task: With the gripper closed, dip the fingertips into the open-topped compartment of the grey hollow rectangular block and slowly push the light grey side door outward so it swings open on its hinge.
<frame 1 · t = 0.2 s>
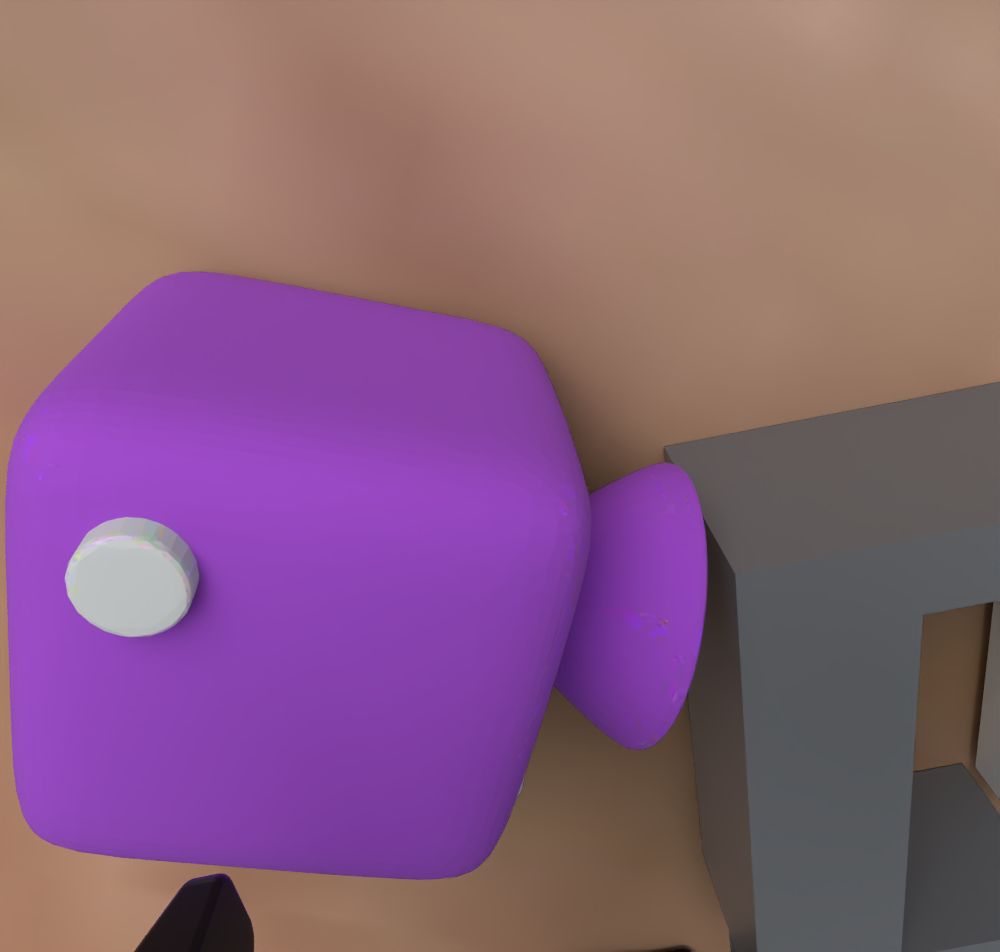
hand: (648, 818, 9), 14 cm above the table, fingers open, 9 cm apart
grey hollow rectangular block: (831, 650, 27), on the table
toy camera: (394, 458, 23), on the table
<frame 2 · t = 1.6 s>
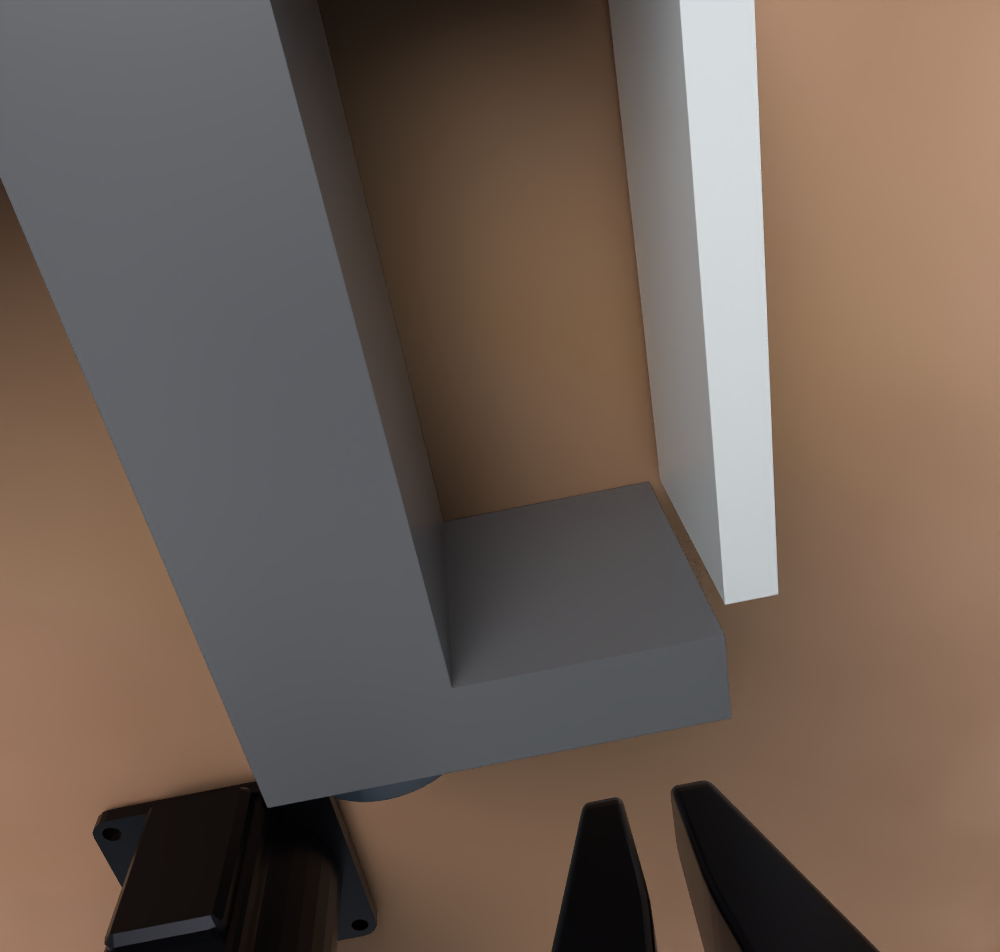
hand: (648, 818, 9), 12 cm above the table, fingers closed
grey hollow rectangular block: (408, 274, 19), on the table
side door: (691, 264, 16), point 3 cm above the table, hinge at 0.0°
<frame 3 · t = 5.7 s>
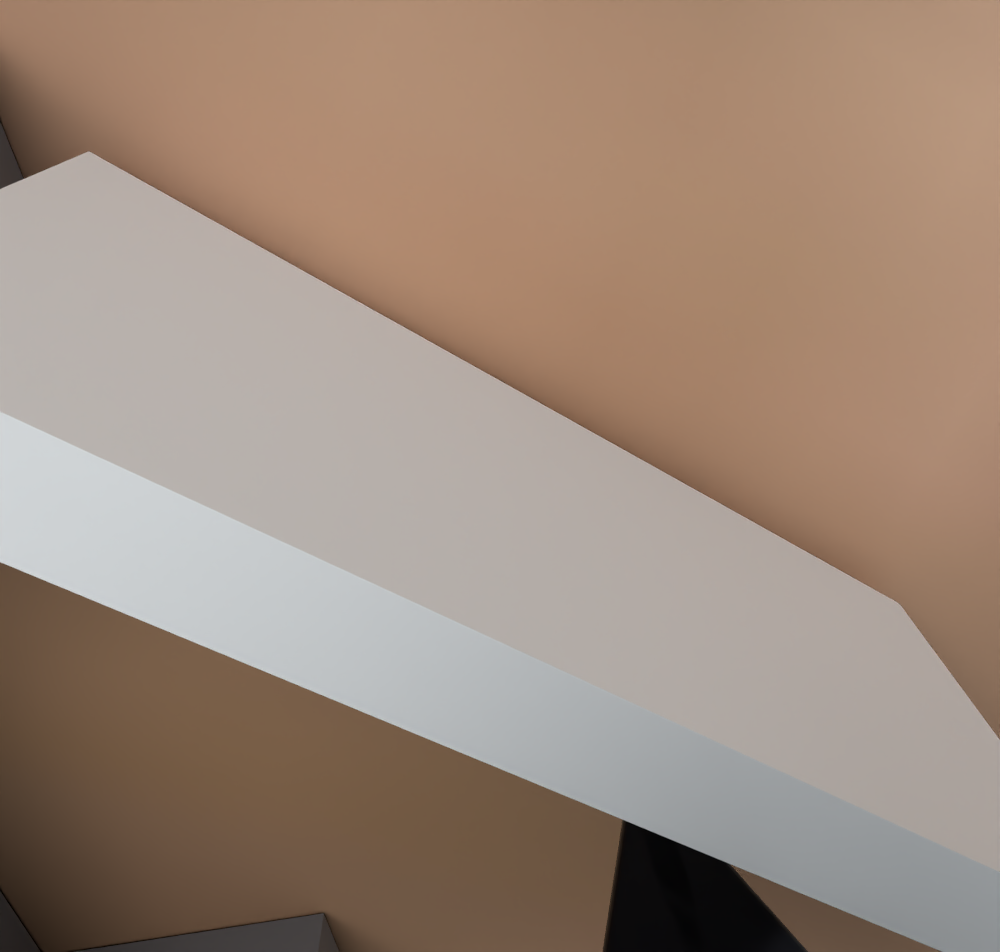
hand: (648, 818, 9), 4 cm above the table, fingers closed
side door: (552, 556, 9), point 3 cm above the table, hinge at 48.8°, touching gripper
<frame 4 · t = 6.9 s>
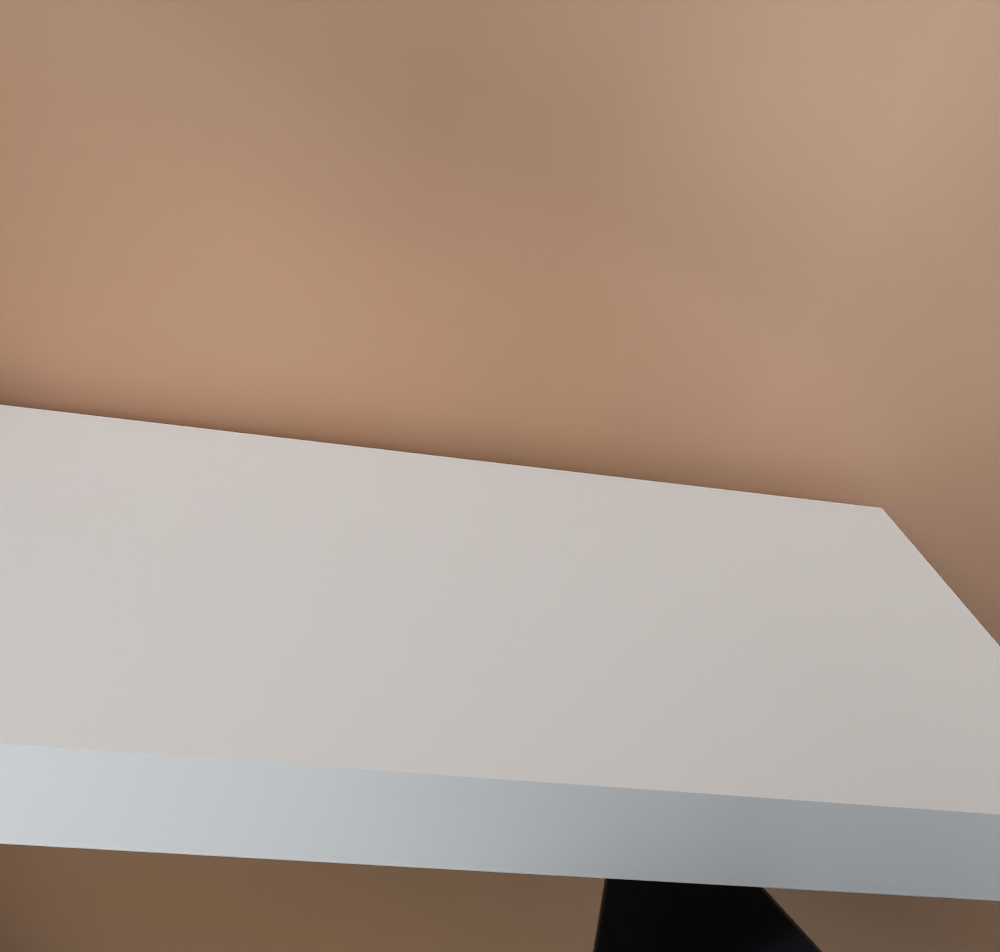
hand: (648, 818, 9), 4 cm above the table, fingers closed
side door: (437, 616, 9), point 3 cm above the table, hinge at 70.8°, touching gripper
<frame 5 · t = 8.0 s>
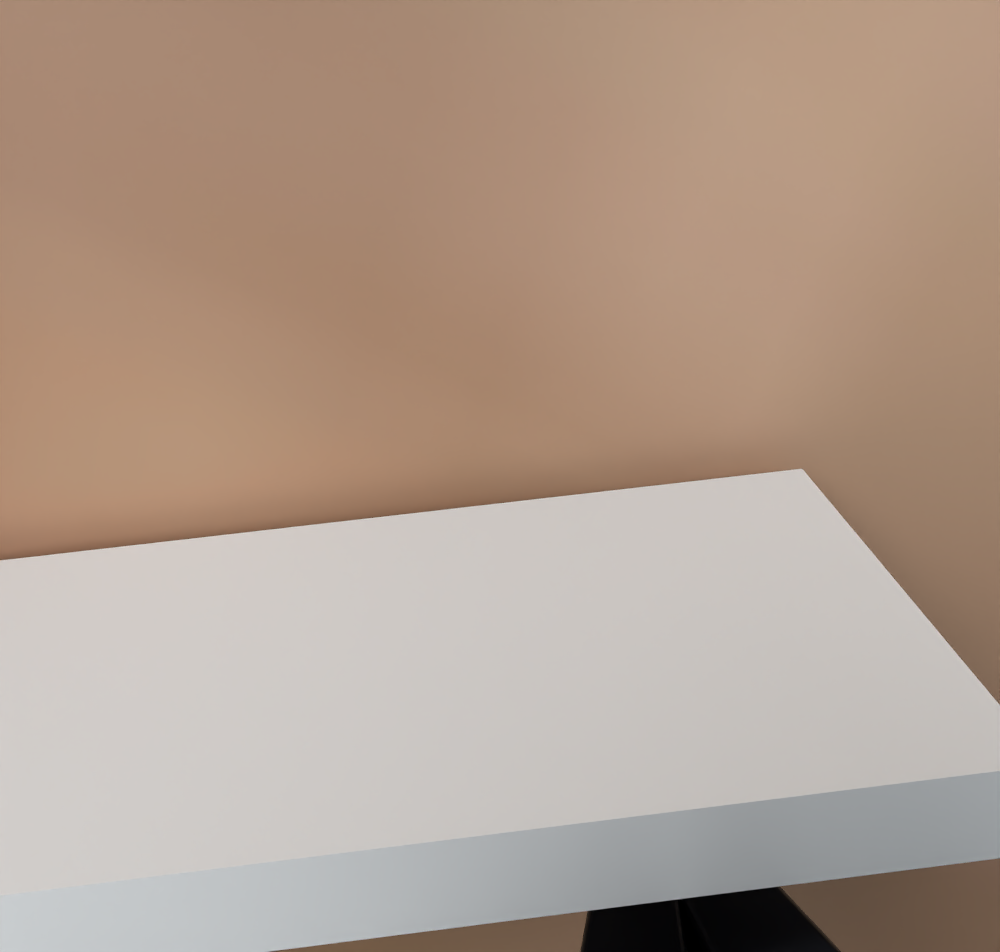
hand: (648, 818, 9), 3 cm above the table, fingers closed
side door: (339, 686, 9), point 3 cm above the table, hinge at 84.9°, touching gripper
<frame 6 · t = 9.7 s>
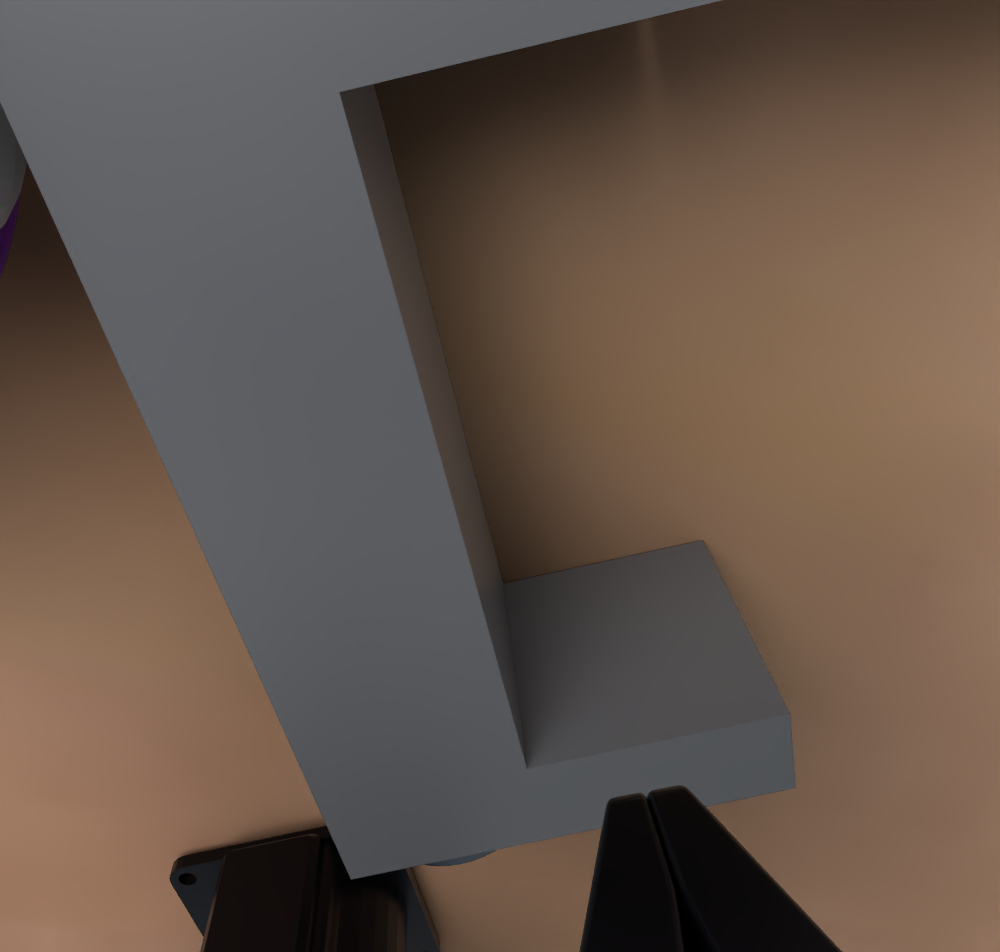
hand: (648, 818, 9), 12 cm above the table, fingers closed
grey hollow rectangular block: (468, 355, 19), on the table
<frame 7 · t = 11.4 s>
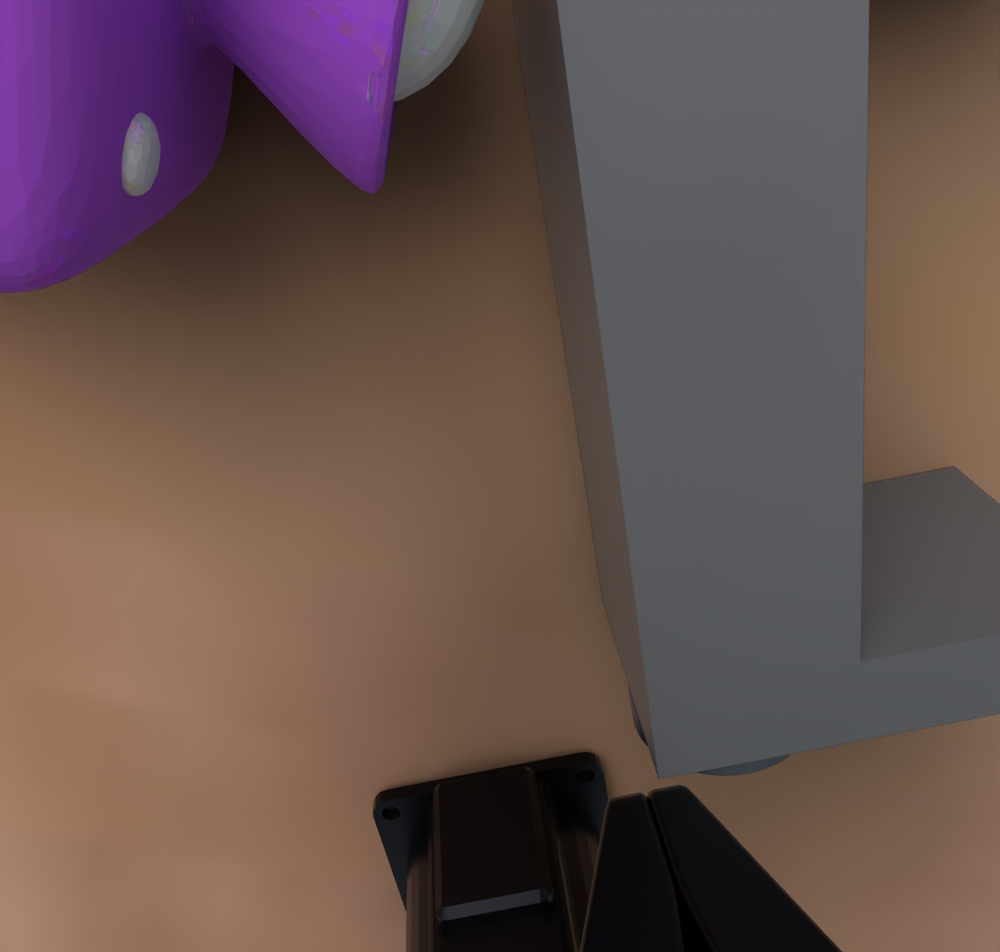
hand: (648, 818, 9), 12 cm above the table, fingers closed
grey hollow rectangular block: (763, 261, 19), on the table
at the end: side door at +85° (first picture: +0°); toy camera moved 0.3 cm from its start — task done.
